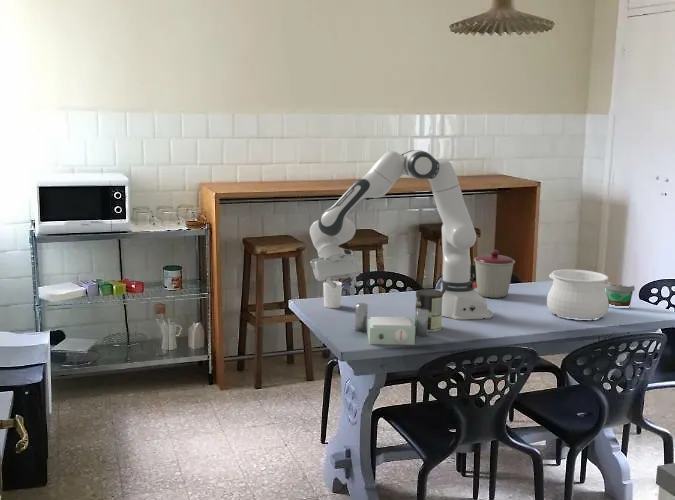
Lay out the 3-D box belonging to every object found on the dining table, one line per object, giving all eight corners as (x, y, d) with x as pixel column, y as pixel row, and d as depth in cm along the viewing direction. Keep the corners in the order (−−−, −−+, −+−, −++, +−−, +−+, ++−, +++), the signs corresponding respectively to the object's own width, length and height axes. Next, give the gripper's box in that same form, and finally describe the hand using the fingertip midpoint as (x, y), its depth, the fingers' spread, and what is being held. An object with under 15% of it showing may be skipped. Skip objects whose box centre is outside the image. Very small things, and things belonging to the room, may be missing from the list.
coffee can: (417, 331, 293) (418, 295, 291) (412, 324, 303) (413, 289, 301) (444, 331, 294) (445, 295, 292) (438, 324, 304) (440, 289, 302)
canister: (516, 301, 343) (519, 254, 339) (475, 300, 343) (478, 253, 340) (508, 291, 361) (511, 246, 357) (469, 290, 361) (471, 245, 357)
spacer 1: (366, 328, 296) (367, 303, 294) (367, 331, 292) (367, 306, 290) (354, 328, 296) (355, 302, 294) (355, 331, 292) (356, 305, 290)
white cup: (339, 309, 324) (340, 285, 322) (321, 307, 325) (321, 284, 323) (343, 304, 331) (343, 281, 329) (325, 303, 333) (325, 280, 331)
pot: (618, 315, 323) (622, 275, 320) (592, 326, 305) (596, 284, 302) (561, 304, 340) (564, 266, 337) (533, 314, 322) (536, 274, 319)
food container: (602, 307, 335) (604, 285, 333) (603, 304, 340) (604, 282, 339) (632, 311, 330) (634, 288, 328) (633, 307, 336) (635, 285, 334)
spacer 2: (426, 333, 291) (427, 307, 289) (427, 337, 287) (429, 310, 285) (414, 333, 291) (415, 307, 289) (416, 337, 287) (417, 310, 285)
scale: (409, 334, 290) (410, 316, 289) (414, 345, 276) (415, 327, 275) (367, 333, 290) (367, 315, 288) (369, 345, 276) (370, 326, 275)
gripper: (312, 254, 299) (325, 284, 293) (355, 250, 310) (369, 279, 304) (305, 264, 303) (318, 293, 297) (349, 259, 315) (362, 287, 308)
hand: (344, 286), depth 301 cm, fingers open, 8 cm apart
